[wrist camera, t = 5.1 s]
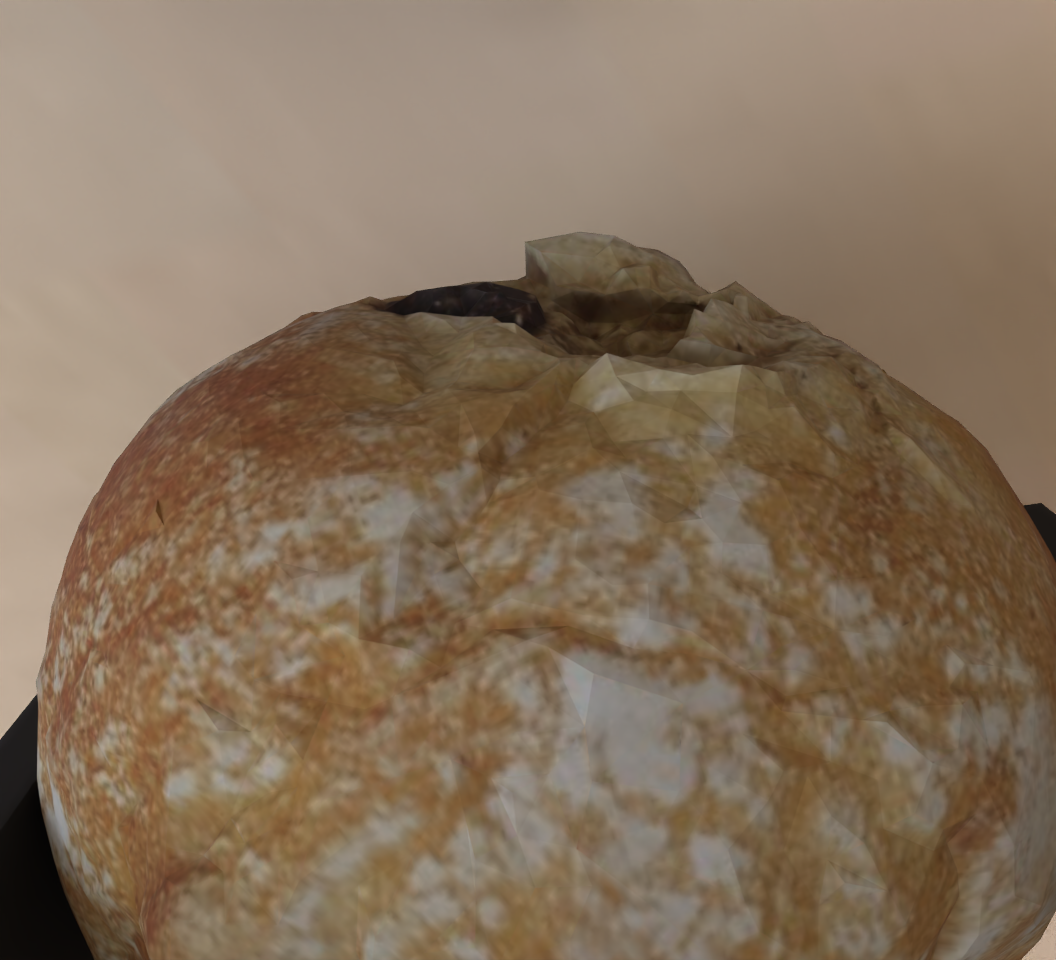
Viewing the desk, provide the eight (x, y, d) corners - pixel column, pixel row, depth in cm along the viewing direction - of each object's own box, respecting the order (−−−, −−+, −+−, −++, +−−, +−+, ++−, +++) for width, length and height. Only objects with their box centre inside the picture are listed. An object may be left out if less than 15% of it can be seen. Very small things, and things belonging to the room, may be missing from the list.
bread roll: (851, 271, 14) (1201, -86, 6) (1003, 999, 13) (1637, 1732, 5) (188, 403, 14) (-322, 242, 6) (301, 1104, 14) (-111, 1905, 6)
